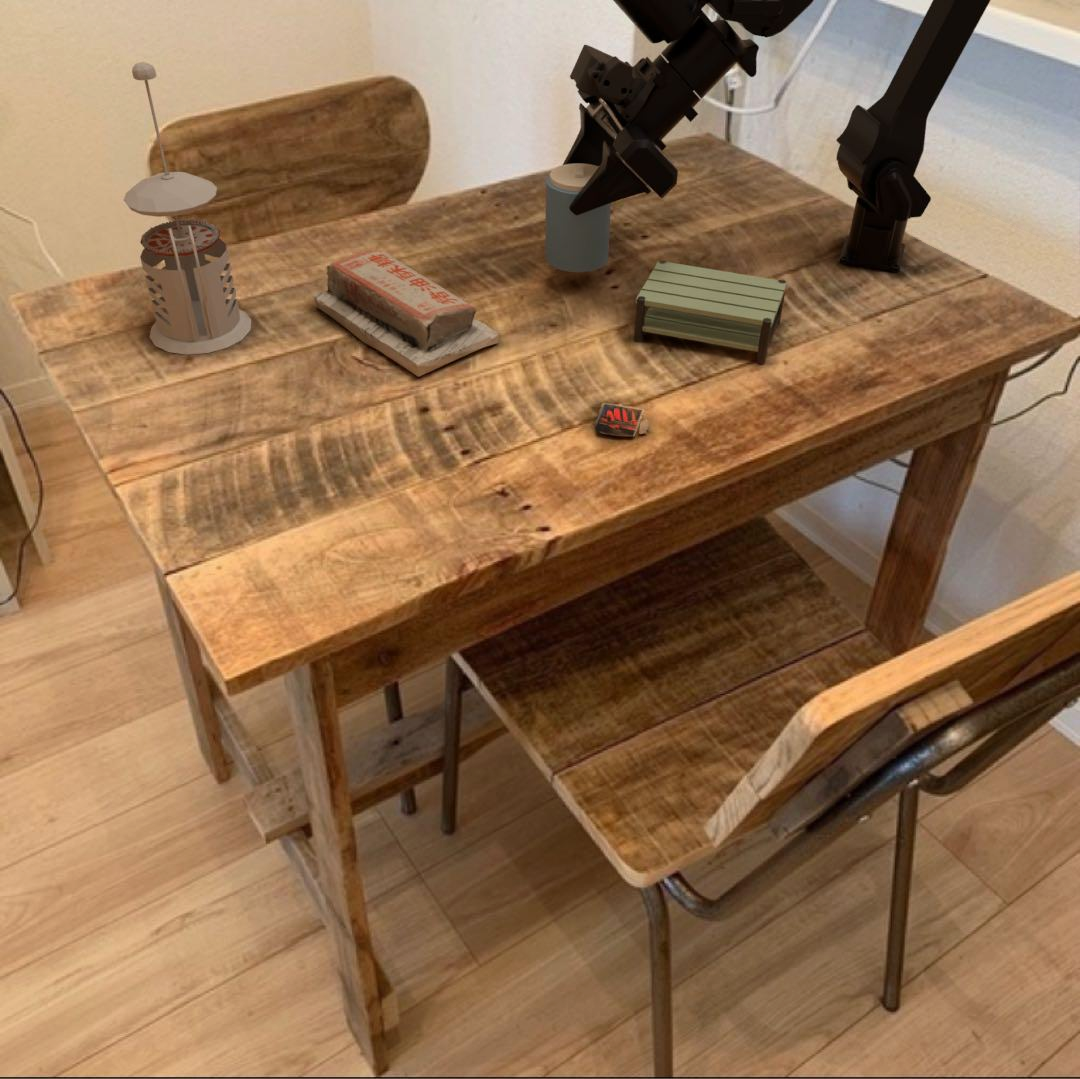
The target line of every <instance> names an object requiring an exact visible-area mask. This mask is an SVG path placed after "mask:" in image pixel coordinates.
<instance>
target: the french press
mask: <svg viewBox="0 0 1080 1079" xmlns="http://www.w3.org/2000/svg"><path fill="white" fill-rule="evenodd" d="M131 73H132V77H133V80H135V81H144V84H145V88H146V93H147V98H148V102H149V106H150V111H151V116H152V120H153V124H154V129H155V133H156V137H157V143H158V147H159V152H160V155H161V161H162V164H163V169H164V172H159V173H157V174H153V175H152V176H151V175H150V176H148V177H146V178H143V179H141V180H140V181H138V183H136V184H135V185H133V187H131V188H130V189H129V190H127V192H125V195H124V198H123V201H124V203H125V205H126V206H127V207H128V209H130V211H132V212H134V213H137V214H139V215H142V216H150V217H156V218H157V217H158V218H159V217H160V218H161V217H162V218H163V217H175V220H173V221H170V220H169V221H166V222H162V223H160V224H157V225H155V226H153V227H152V226H151V227H150V228H149V229H148V230H147V231H145V232H144V233H143V234H141V238H140V242H139V243H140V245H141V246H142V247H143V249H142V251H141V254H140V256H139V258H140V263H141V266H142V270H143V271H144V272H145V273H146V274H147V275H144V278H145V282H146V284H147V285H148V286H149V287H148V288H147V290H148V293H149V294H148V295H149V296H150V297H151V300H150V302H151V306H152V308H153V310H155V311H153V315H154V318H155V323H154V324H153V325H152V326H151V328H150V333H149V339H150V340H151V342H152V343H153V345H154V346H155V347H157V348H159V349H161V350H163V351H166V352H167V353H174V354H179V355H180V354H181V355H188V356H189V355H201V354H209V353H210V354H211V353H213V352H218V351H220V350H223V349H224V350H225V349H227V348H230V347H232V346H233V345H235V344H237V343H239V342H240V341H242V340H244V339H245V337H246V336H247V335H248V334H249V333H250V332H251V330H252V319H251V318H250V317H249V315H248V314H247V313H246V311H244V310H242V309H240V307H239V301H238V299H237V298H236V297H237V291H236V287H235V286H234V283H235V282H234V276H233V275H231V273H232V266H231V263H230V262H229V258H230V255H229V250H228V245H227V243H226V242H225V241H223V239H221V238H220V235H221V230H220V229H219V228H218V227H217V226H216V225H215V224H213V223H210V222H208V221H205V220H199V219H197V220H196V219H189V218H188V219H187V220H186V219H183V220H182V219H180V220H179V216H181V215H187V214H190V213H193V212H196V211H198V210H200V209H202V208H205V207H206V206H207V205H208V204H210V203H211V202H212V201H213V200H214V199H215V197H216V196H217V191H218V187H217V186H216V185H215V183H213V182H212V181H210V180H208V179H205V178H203V177H200V176H198V175H195V174H191V173H188V172H186V171H185V172H184V171H169V170H168V166H167V163H166V158H165V153H164V149H163V144H162V140H161V135H160V130H159V126H158V121H157V117H156V113H155V108H154V104H153V99H152V95H151V94H152V93H151V90H150V85H149V81H150V80H153V79H155V78H157V75H158V74H157V71H156V69H155V67H154V65H152V64H151V63H149V62H146V61H141V62H136V63H135V64H134V65H133V66H132V68H131ZM168 171H169V172H168ZM205 255H207V256H210V257H213V258H217V259H216V260H215V259H214V261H211V260H208V259H206V256H205ZM163 261H164V266H163V267H162V268H157V267H156V266H157V265H159V264H160V263H162V262H163ZM224 271H225V273H224V274H225V275H222V273H223V272H224ZM155 281H156V282H157V283H158V284H157V285H156V284H154V282H155ZM227 283H229V284H228V286H227V287H225V286H226V284H227ZM156 294H159V296H160V297H158V296H157V295H156ZM229 295H231V296H230V298H228V297H229ZM159 306H161V307H162V309H161V308H160V307H159Z"/></svg>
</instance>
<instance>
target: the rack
mask: <svg viewBox="0 0 1080 1079" xmlns="http://www.w3.org/2000/svg"><path fill="white" fill-rule="evenodd" d="M787 286H788V281H787V280H785V279H773V278H767V277H761V276H755V275H751V274H744V273H738V272H731V271H726V270H720V269H719V270H718V269H712V268H707V267H702V266H695V265H689V264H682V263H676V262H669V261H666V260H661V259H660V260H658V261H657V262H656V264H655V266H654V268H653V270H652V271H651V273H650V274H649V276H648V277H647V280H646V281H645V283H644V284H643V286H642V288H641V290H640V291H639V293H638V294H637V297H636V298H635V305H636V306H635V316H634V317H635V318H634V332H633V341H635V342H636V343H640V342H643V340H644V334H645V333H651V334H656V335H663V336H668V337H674V338H678V339H684V340H690V341H695V342H702V343H705V344H706V343H707V344H712V345H717V346H724V347H729V348H734V349H740V350H744V351H751V352H756V357H755V363H756V364H758V365H764V364H766V362H767V355H768V350H769V347H770V345H771V342H772V340H773V337H774V333H775V332H776V328H777V327H778V325H780V323H781V320H782V319H781V318H782V312H783V308H784V307H783V306H784V300H785V296H786V289H787ZM644 332H645V333H644Z"/></svg>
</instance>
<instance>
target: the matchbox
mask: <svg viewBox="0 0 1080 1079" xmlns="http://www.w3.org/2000/svg"><path fill="white" fill-rule="evenodd" d="M644 413H645V409H644V408H638V407H634V406H626V405H623V404H622V403H619V404H616V403H615V404H614V403H606V402H603V403H601V404H600V409H599V410H598V414H597V415H598V416H597V418H596V419H595V422H594V423H595V432H596V433H601V434H605V435H611V436H616V437H635V435H636V434H638V435H643V434H647V433H648V431H650V430H651V429H650V428H651V427H650V421H649V419H648V418H645V419H644V420H642V419H643V415H644ZM647 430H648V431H647ZM603 437H605V436H603ZM605 438H606V437H605ZM609 438H611V439H612V437H609Z"/></svg>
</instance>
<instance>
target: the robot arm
mask: <svg viewBox="0 0 1080 1079" xmlns="http://www.w3.org/2000/svg"><path fill="white" fill-rule="evenodd" d="M814 1H815V0H612V2H614V3H615V4H616V6H617V7H618V8H619V9H620V10H621V11H622V12H623V13H624V14H625V16H626V17H627V18H628V19H629V20H630V21H631V22H632V24H633V25H634V26H635V27H636V28H637V29H638V30H639V32H640V33H641V34H642V35H643V36H644V37H645V38H646V39H647V40H648V41H649V43H651V44H659V43H663V42H664V43H666V44H668V45H667V46H666V47H665V48H664V49H663V50H662V51H661V52H660V54H658V56H656V57H655V59H653V61H652V60H651V59H650V58H649V57H648V56H646V57H642V58H640V59H639V60H638V61H637V62H636V63H635V65H631V64H630V62H629V61H626V60H625V61H622V60H621V59H620V58H619V57H618V56H615V55H613V56H612V55H610V54H608V53H606V52H604V51H602V50H599V49H598V48H595V47H593V46H591V45H589V44H583V46H582V48H581V51H580V52H579V55H578V58H577V59H576V62H575V64H574V66H573V68H572V70H571V73H570V75H569V78H570V79H571V80H572V81H574V82H575V87H576V89H577V93H578V95H579V96H580V98H581V99H582V101H583V102H584V103H585V104H588V105H587V106H585V105H584V104H582V103H581V102H580V103H579V105H578V109H579V115H580V116H579V118H580V127H579V131H578V133H577V136H576V138H575V139H574V141H573V144H572V146H571V148H570V150H569V151H568V152H567V153H568V154H567V155H566V157H565V159H564V161H563V163H562V165H566V164H575V163H581V164H590V165H595V166H598V169H597V170H596V171H595V173H594V174H593V175H592V177H591V178H590V179H589V180H588V182H587V183H586V184H585V186H584V187H583V188H582V190H581V191H580V192H579V193H578V195H577V196H576V198H575V199H574V201H573V202H572V203H571V205H570V206H569V209H570V211H571V212H572V213H573V214H575V215H580V214H583V213H585V212H588V211H591V210H593V209H596V208H599V207H601V206H604V205H607V204H609V203H611V204H612V203H615V202H617V201H622V200H624V199H627V198H630V197H634V196H637V195H640V194H646V195H648V194H650V193H651V192H652V191H653V192H654V193H655V194H656V195H657V196H658V197H659V198H661V199H664V197H665V196H666V195H668V194H669V193H670V192H671V191H672V190H673V189H674V187H675V186H676V185H677V184H678V176H679V175H678V174H679V170H678V168H677V167H676V165H674V163H673V162H672V160H671V159H670V158H669V157H668V155H667V154H666V153H665V152H664V150H665V149H666V148H667V145H666V144H665V142H664V141H663V139H664V138H665V137H666V136H667V135H669V133H671V131H672V130H673V129H674V128H675V127H676V126H677V125H678V124H679V123H680V122H681V121H682V120H683V119H684V118H685V119H687V120H688V121H689V123H692V121H694V119H695V118H696V117H697V116H698V115H699V113H698V111H696V109H695V107H696V105H698V104H699V103H700V101H701V100H702V99H704V97H705V96H706V95H707V94H708V93H709V92H710V91H711V90H712V89H713V88H714V87H715V86H716V85H717V84H718V83H719V82H720V81H721V80H722V79H723V78H724V77H725V76H726V75H727V74H728V73H729V72H730V70H731V69H733V67H735V66H736V65H737V67H739V68H740V69H741V70H742V71H743V72H744V73H745V74H747V75H748V77H750V78H754V77H755V76H756V75H757V63H758V62H757V56H758V52H759V49H760V46H759V45H758V44H757V43H756V42H755V41H754V40H753V39H751V38H747V39H742V38H741V37H740V36H739V35H738V34H739V33H737V32H736V31H735V29H734V28H733V27H732V26H731V25H730V23H729V22H734V23H737V24H738V25H740V26H741V27H742V29H744V30H745V31H747V32H748V33H750V34H751V35H753V36H758V37H764V38H770V37H774V36H776V35H777V34H780V33H781V32H783V31H785V29H787V28H788V27H789V26H790V25H791V24H792V23H793V22H794V21H795V20H796V19H797V18H799V16H801V14H803V13H804V12H805V11H806V10H808V8H809V7H810V6H811V5H812V4H813V3H814ZM990 3H991V0H932V1H931V3H930V5H929V7H928V9H927V11H926V13H925V15H924V16H923V19H922V21H921V23H920V24H919V27H918V29H917V31H916V32H915V34H914V36H913V38H912V40H911V42H910V44H909V46H908V47H907V50H906V52H905V54H904V56H903V58H902V60H901V62H900V63H899V65H898V68H897V69H896V71H895V73H894V75H893V77H892V79H891V81H890V83H889V85H888V87H887V88H886V91H885V92H884V94H883V95H882V96H881V98H879V99H877V101H876V102H874V103H873V104H871V106H869V108H867V109H866V108H865V107H863V106H862V105H861V104H856V105H855V107H854V108H853V110H852V111H851V113H850V117H849V119H848V123H847V125H846V127H845V129H844V130H843V132H842V133H841V134H840V135H839V136H838V137H837V138H836V142H837V143H838V144H839V146H838V149H837V151H836V162H837V165H838V168H839V171H840V172H841V174H842V175H843V176H844V177H845V178H846V182H847V188H848V190H850V191H852V192H853V193H855V194H856V195H857V197H856V200H855V205H854V210H853V214H852V219H851V225H850V229H849V232H848V233H849V234H848V235H846V236H845V239H844V241H843V245H842V249H841V251H840V255H839V259H838V262H839V263H841V264H845V265H851V266H857V267H858V266H859V267H864V268H870V269H878V270H883V271H889V272H900V271H901V267H902V261H903V259H904V258H903V257H904V252H905V247H906V244H904V243H903V241H904V237H905V234H906V229H907V225H908V220H910V219H911V218H920V217H922V216H923V214H924V213H925V211H926V209H927V208H928V206H929V204H930V203H931V201H932V198H931V196H930V194H929V193H928V192H927V190H926V189H925V188H924V187H923V185H922V184H921V183H920V182H919V181H918V179H917V178H916V177H915V175H916V171H917V169H918V166H919V163H920V161H921V158H922V156H923V153H924V150H925V141H926V131H927V121H928V117H929V114H930V113H931V110H932V108H933V107H934V105H935V103H936V101H937V99H938V98H939V96H940V94H941V92H942V91H943V88H944V87H945V85H946V84H947V81H948V79H949V77H950V76H951V74H952V72H953V70H954V69H955V67H956V64H957V63H958V61H959V59H960V58H961V56H962V53H963V52H964V51H965V48H966V46H967V44H969V41H970V39H971V37H972V36H973V34H974V32H975V30H976V28H977V26H978V24H979V22H980V21H981V19H982V17H983V15H984V14H985V11H986V9H987V8H988V6H989V4H990ZM706 5H707V6H708V7H709V8H710V9H711V10H713V11H714V12H715V13H716V15H718V16H719V17H720V18H721V19H716V20H713V21H712V20H711V19H710V18H709V17H708V16H707V15H706V13H705V12H704V11H703V8H704V7H705V6H706Z"/></svg>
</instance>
